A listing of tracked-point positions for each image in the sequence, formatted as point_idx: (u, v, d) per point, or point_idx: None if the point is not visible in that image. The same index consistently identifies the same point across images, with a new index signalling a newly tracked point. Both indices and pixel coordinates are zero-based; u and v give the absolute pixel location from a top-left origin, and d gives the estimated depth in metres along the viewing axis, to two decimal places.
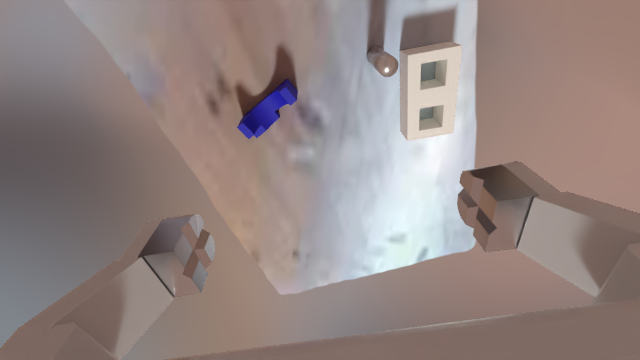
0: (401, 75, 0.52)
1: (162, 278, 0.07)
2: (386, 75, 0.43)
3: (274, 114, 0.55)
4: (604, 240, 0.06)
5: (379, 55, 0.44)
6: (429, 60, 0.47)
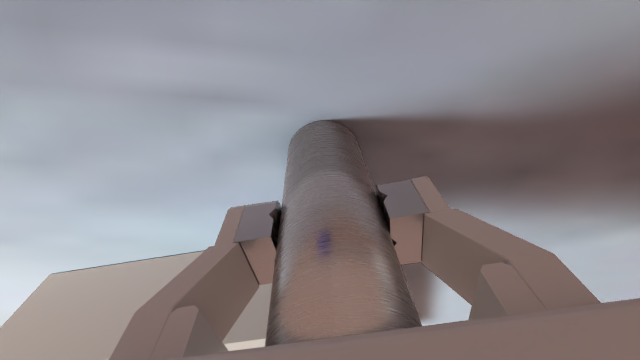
0: None
1: (253, 265, 0.07)
2: None
3: None
4: (476, 258, 0.06)
5: (406, 292, 0.05)
6: None
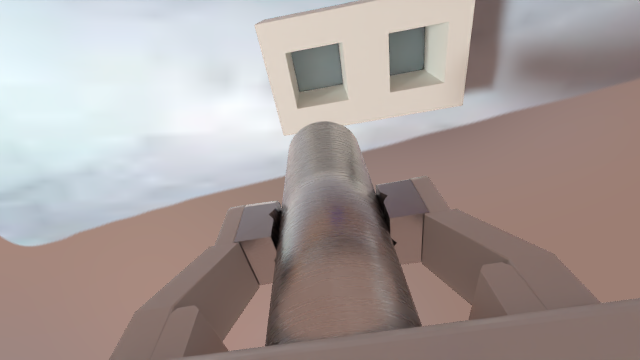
0: None
1: (253, 265, 0.07)
2: None
3: None
4: (476, 258, 0.06)
5: (406, 295, 0.05)
6: (451, 42, 0.21)
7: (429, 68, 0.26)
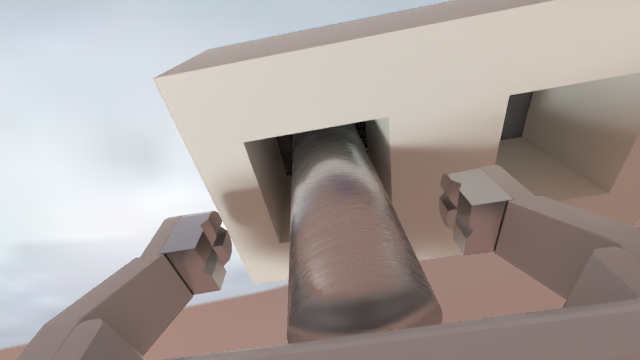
0: None
1: (183, 275, 0.07)
2: (298, 334, 0.05)
3: None
4: (574, 244, 0.06)
5: (390, 205, 0.07)
6: None
7: (546, 142, 0.13)
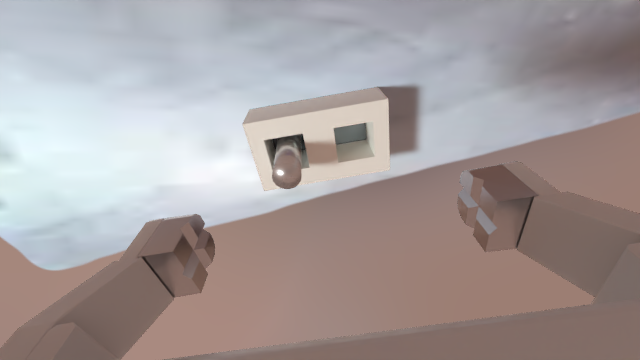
0: (344, 95, 0.33)
1: (162, 278, 0.07)
2: (273, 175, 0.28)
3: None
4: (604, 240, 0.06)
5: (298, 156, 0.30)
6: (376, 132, 0.32)
7: (369, 141, 0.36)
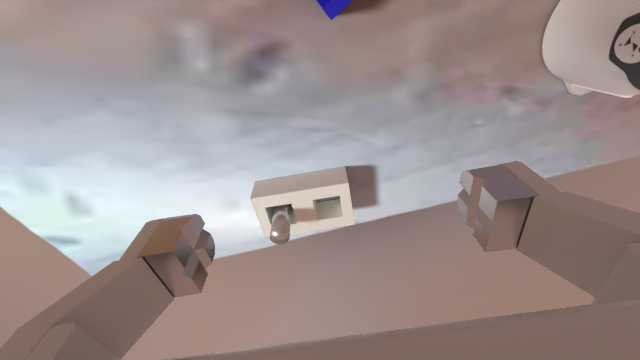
0: (321, 173, 0.47)
1: (162, 278, 0.07)
2: (271, 236, 0.42)
3: None
4: (604, 240, 0.06)
5: (287, 220, 0.44)
6: (342, 202, 0.46)
7: (340, 202, 0.50)
